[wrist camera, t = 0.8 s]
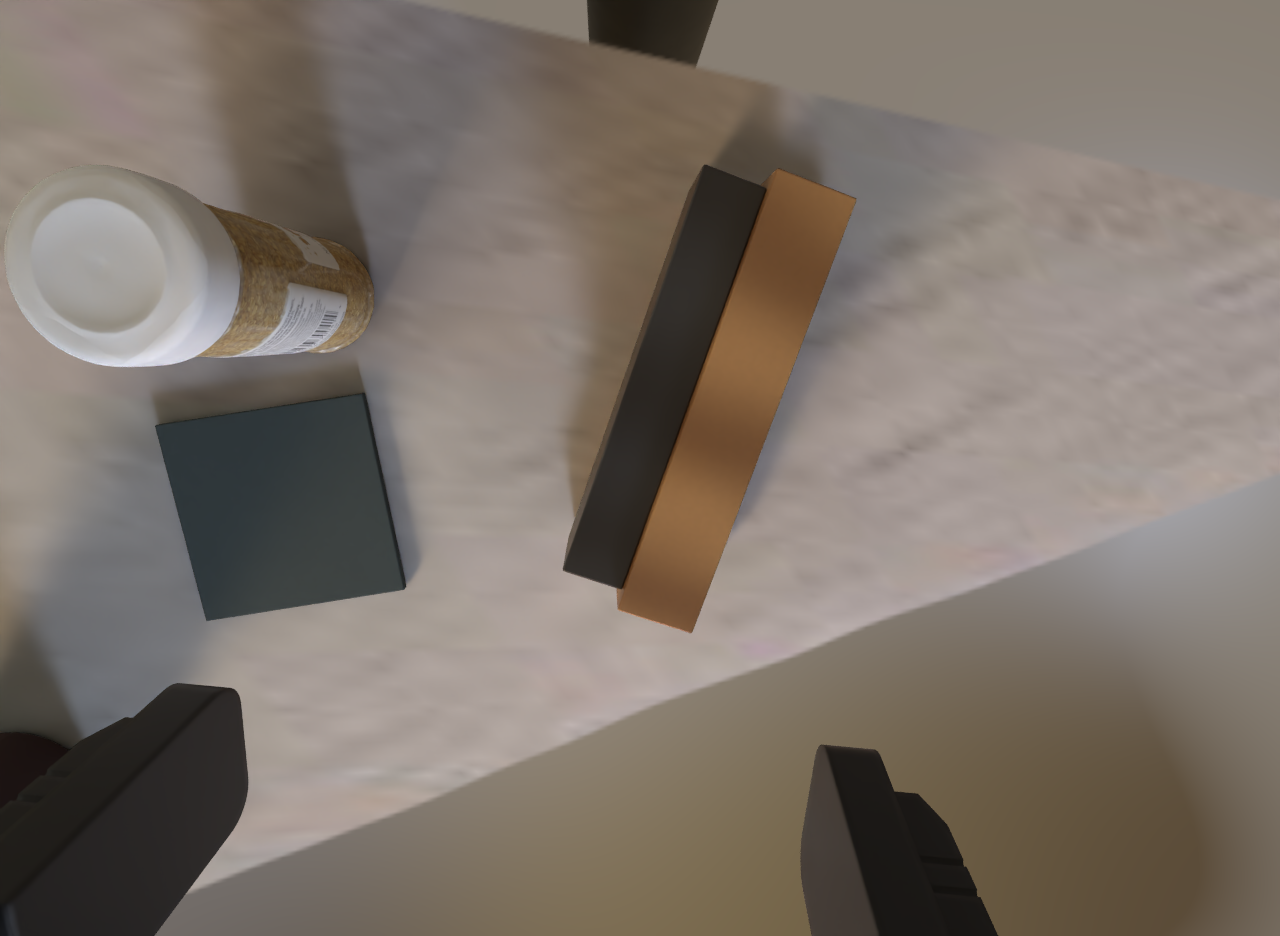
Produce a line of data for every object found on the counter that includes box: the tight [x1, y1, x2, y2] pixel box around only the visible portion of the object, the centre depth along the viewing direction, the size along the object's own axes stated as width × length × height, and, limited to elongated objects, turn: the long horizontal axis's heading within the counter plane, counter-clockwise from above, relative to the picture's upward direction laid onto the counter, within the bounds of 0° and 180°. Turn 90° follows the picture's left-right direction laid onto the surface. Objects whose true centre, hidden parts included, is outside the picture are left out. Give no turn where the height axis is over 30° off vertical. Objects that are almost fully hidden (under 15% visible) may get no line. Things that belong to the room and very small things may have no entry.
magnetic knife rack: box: [563, 165, 856, 633], centre depth 27 cm, size 14×6×9 cm, turn 161°
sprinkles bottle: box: [4, 165, 374, 367], centre depth 24 cm, size 5×5×13 cm
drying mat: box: [155, 393, 406, 621], centre depth 31 cm, size 8×8×1 cm
